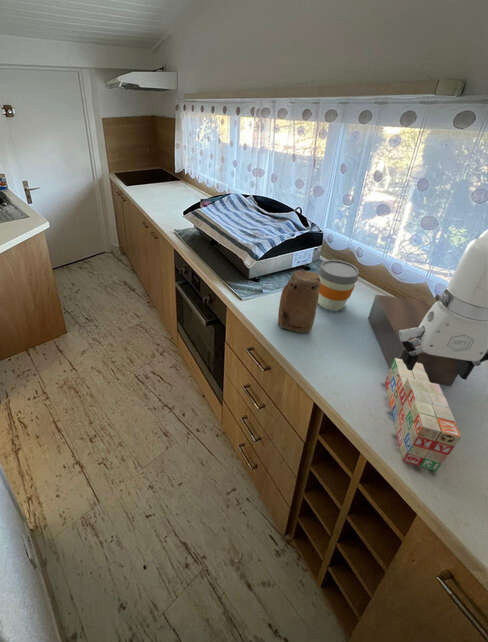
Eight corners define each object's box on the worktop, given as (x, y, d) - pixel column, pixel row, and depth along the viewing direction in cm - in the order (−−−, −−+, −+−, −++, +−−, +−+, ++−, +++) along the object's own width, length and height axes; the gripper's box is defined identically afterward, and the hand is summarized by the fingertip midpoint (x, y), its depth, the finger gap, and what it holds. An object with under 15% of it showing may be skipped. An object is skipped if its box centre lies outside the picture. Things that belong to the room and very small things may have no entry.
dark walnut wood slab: (413, 324, 102) (424, 300, 97) (451, 386, 81) (467, 358, 76) (367, 318, 105) (375, 294, 100) (392, 376, 84) (404, 349, 79)
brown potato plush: (309, 321, 104) (320, 271, 95) (311, 336, 98) (324, 284, 88) (276, 316, 107) (284, 267, 97) (277, 330, 100) (285, 279, 91)
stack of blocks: (383, 381, 82) (398, 348, 76) (410, 388, 80) (427, 354, 74) (402, 461, 64) (422, 426, 59) (437, 472, 62) (462, 437, 57)
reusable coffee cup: (327, 289, 120) (335, 256, 113) (356, 306, 111) (367, 271, 104) (305, 299, 115) (312, 265, 108) (333, 318, 105) (343, 281, 98)
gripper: (423, 309, 54) (393, 375, 63) (540, 324, 51) (492, 392, 59) (407, 286, 61) (381, 349, 69) (510, 298, 57) (470, 363, 65)
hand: (432, 369), depth 64 cm, fingers open, 9 cm apart
